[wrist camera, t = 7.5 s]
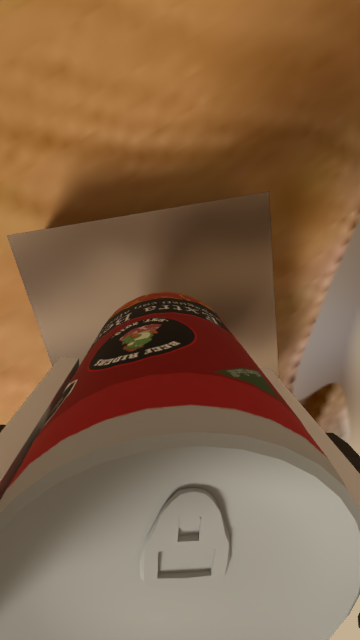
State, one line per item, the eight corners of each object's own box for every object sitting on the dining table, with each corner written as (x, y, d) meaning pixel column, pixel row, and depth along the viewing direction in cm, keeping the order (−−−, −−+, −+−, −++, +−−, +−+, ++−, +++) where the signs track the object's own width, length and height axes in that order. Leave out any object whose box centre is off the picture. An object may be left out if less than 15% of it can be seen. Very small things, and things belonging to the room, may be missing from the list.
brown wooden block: (41, 235, 21) (6, 235, 16) (243, 201, 21) (268, 191, 16) (95, 408, 26) (80, 447, 21) (258, 377, 26) (280, 409, 21)
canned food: (218, 274, 14) (383, 380, 4) (238, 399, 17) (372, 669, 6) (77, 305, 14) (-146, 502, 4) (119, 426, 17) (55, 747, 6)
